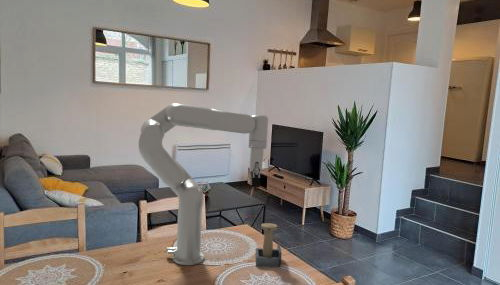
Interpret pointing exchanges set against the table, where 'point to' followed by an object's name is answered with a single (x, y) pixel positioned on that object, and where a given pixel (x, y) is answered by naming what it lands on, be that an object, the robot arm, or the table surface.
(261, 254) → the box
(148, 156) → the robot arm
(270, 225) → the handle
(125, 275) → the table surface
